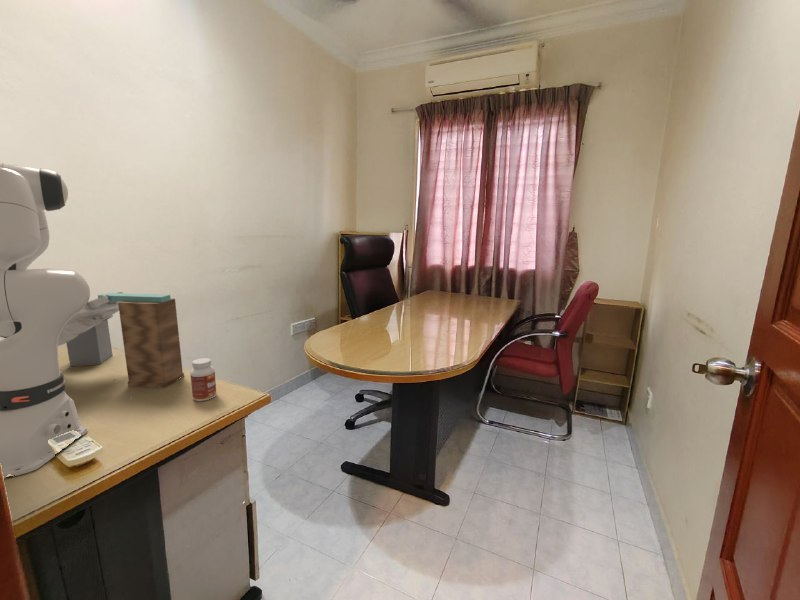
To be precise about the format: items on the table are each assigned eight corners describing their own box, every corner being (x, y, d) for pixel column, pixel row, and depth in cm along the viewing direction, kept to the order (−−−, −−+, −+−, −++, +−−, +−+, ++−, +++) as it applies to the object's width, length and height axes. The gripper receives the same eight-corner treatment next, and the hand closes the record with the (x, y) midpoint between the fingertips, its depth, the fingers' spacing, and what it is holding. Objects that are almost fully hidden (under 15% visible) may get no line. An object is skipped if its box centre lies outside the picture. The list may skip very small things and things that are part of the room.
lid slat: (98, 300, 112) (97, 295, 112) (109, 297, 116) (108, 292, 116) (161, 302, 111) (161, 297, 110) (170, 299, 115) (170, 294, 114)
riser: (100, 364, 131) (95, 325, 128) (70, 366, 129) (63, 327, 126) (112, 355, 140) (107, 319, 137) (84, 357, 137) (78, 320, 134)
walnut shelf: (127, 385, 114) (116, 302, 109) (149, 374, 123) (139, 297, 118) (165, 387, 113) (155, 304, 108) (184, 375, 122) (176, 298, 117)
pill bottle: (212, 401, 105) (209, 364, 103) (189, 402, 104) (185, 365, 102) (219, 391, 111) (216, 356, 109) (197, 392, 110) (194, 357, 108)
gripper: (41, 315, 105) (77, 292, 103) (103, 301, 125) (134, 281, 123) (55, 334, 106) (91, 312, 104) (114, 317, 126) (145, 298, 124)
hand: (115, 295), depth 114 cm, fingers closed on lid slat, 4 cm apart
